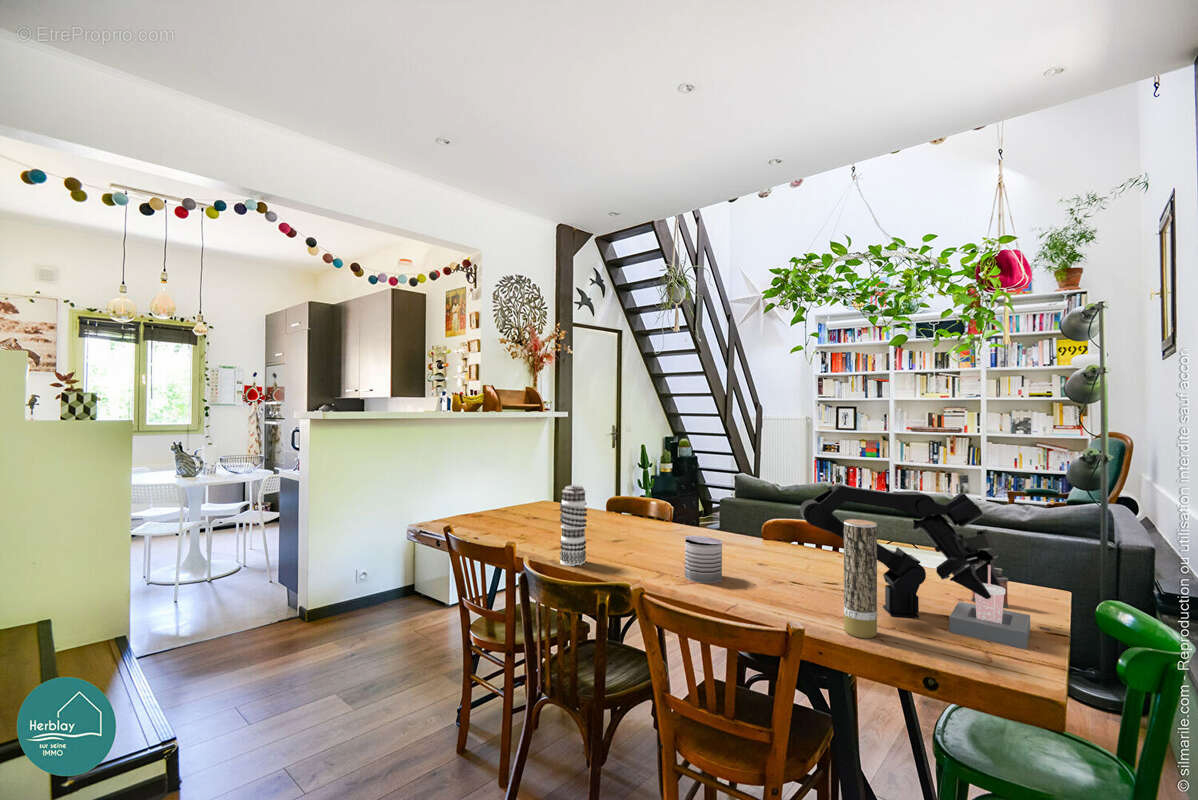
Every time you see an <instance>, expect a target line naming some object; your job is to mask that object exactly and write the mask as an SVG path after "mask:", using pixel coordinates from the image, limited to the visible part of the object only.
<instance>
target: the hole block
mask: <svg viewBox="0 0 1198 800" xmlns="http://www.w3.org/2000/svg"><path fill="white" fill-rule="evenodd" d="M948 619H949V621H948V626H949V627H948V629H949V631H948V633H949V634H950V633H952V634H956V635H960V636H964V637H968V638H973V639H978V640H982V641H987V642H992V643H996V644H999V645H1004V646H1009V647H1013V648H1018V649H1023V650H1027V649H1028V645H1029V644H1028V643H1029V638H1030V634H1031V614H1026V613H1021V612H1016V611H1011V610H1010V611H1009V610H1005V609H1003V614H1002V624H1001V623H996V622H992V621H987V620H982V619H977V617H976V604H974V603H968V602H963V601H958V602H957V604H955V607H954V608H953V610H952V611H951V613H950V615H949V617H948Z"/></svg>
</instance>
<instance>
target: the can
mask: <svg viewBox="0 0 1198 800" xmlns="http://www.w3.org/2000/svg"><path fill="white" fill-rule="evenodd" d="M683 537H684V538H685V541H684V579H686V578H687V579H686V580H687V581H689V580H690V582H692V581H694V582H693V583H697V582H699V583H698V584H716V583H719V582H720V583H721V582H722V580H723V543H724V542H723V540H721V539H717V538H713V537H709V536H702V535H684V536H683Z"/></svg>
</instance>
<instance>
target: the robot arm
mask: <svg viewBox="0 0 1198 800" xmlns="http://www.w3.org/2000/svg"><path fill="white" fill-rule="evenodd" d="M845 502H849V503H855V504H863V505H868V506H876V507H881V508H882V507H883V508H889V509H894V510H898V511H900V512H903V513H905V514H909V515H912V516H915V517H918V518H921V519H912V523H913V526H912V533H914V534H916V533H918V532H919V531H921V530H922V531H923V532H924V534H926V536H927V537H928V539H930V540H931V542H932V543H933V544H934V545H935V547H934V550H935V551H936V552H937V553H940V552H941V554H943V556H944V557H945V559H946V560H944V561H943V562H941V563H940V564H939V565H937V566H936V574H937V575H938V577H940V579H941V580H947V579H949V581H951V582H954V583H957V584H958V585H960V586H961V587H962V586H963V587H964V588H966V589H968V590H970V591H971V592H972V591H973V592H975V593H977V594H978V595H980V596H982V597H984V598H985V599H989V598H991V595H990V594H989V592H988V590H987V589H986V588H985V586H984V585H983V583H986V584H988V565H991V580H990V584H992V585H997V586H1000V587H1001V585H1000V583H999V581H998V578H997V576H996V574H995V572H994V570H993V566H994V565H995V562H996V558H998V557H999V555H998V554H997V552H996V551H994V549H992V548H993V547H996V546H997V543H996V542H995V541H996V540H995V539H996V538H997V536H996V535H994V534H993V532H991V531H989V530H988V529H986V528H985V529H981V530H977V531H976V535H973V536H966V534H965V533H958V532H957V531H956V529H955V528H954V527H957V526H958V527H959V528H960V529H962V528H964V527H966V526H968V525H970V524H972V523H973V522H975V521H977V520H978V519H980V518H982V517H984V513H983V511H982V509H981V508H980V507H979V505H978V504H976V503H975V502H974V501H973V500H971V498H969V497H968V496H967V494H966V493H964V492H960V493H958V494H956V495H955V496H954V497H953V498H951V499H948V501H946V502H944V503H942V502H940V501H935V500H934V499H933V497H932V496H930V495H928V494H925V493H922V492H920V491H915V490H912V491H907V490H906V491H896V492H895V491H894V492H892V491H890V492H889V491H882V490H876V489H868V488H861V487H855V486H847V485H844V484H839V483H838V484H835V485H833V486H832V487H831V488H829V489H828V490H826V491H825V492H822V493H820V494H819V495H817V496H816V497H814V498H813V499H807V500H805V501H803V502H802V503H801V505H800V508H799V512H800V516H801V517H802V518H803V519H804V520H805V521H806V523H807V524H809V525H811V526H813V527H815V528H818V529H821V530H823V531H825V532H829V533H831V534H834V535H835V536H837V537H839V538H841V539H842V540H844V521H842V520H841V519H839V518H838V517H837V516H835V514H834V513H833V512H835V511H836V510H837V509H838V508H839V507H841V505H842V504H844V503H845ZM932 515H933V516H932ZM877 562H879V563H880V564H883V565H884V566H885V567H886V568H887V569H888V570H886V571H885V572H884V573H883V574H882V576H883V579H884V582H885V583H887V584H885V587H884V589H885V591H884V592H885V593H884V596H885V597H884V599H885V600H884V601H885V603H884V604H885V605H882V608H883V609H884V611H886V612H887V613H888V614H889V615H890V616H892V617H900V618H901V617H902V618H904V617H905V618H920V615H919V614H918V613H919V610H920V609H919V607H920V605H919V604H920V603H919V599H920V598H919V596H918V595H917V593H918V591H919V588H920V586H921V585H922V584H923V583H924V582H925V580H926V578H927V572H926V569H925V567H923V566H922V564H921V561H920V560H919V559H917V558H916V557H915V556H913V555H912V554H908V553H907V552H906V551H904V550H903V549H901V548H900V547H898V546H897V547H896V549H895V551H894V550H892V549H889V548H887V547H885V546H883V545H881V544H879V542H877ZM994 567H995V566H994ZM951 574H952V575H953V576H952V577H951V578H950V575H951Z"/></svg>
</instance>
